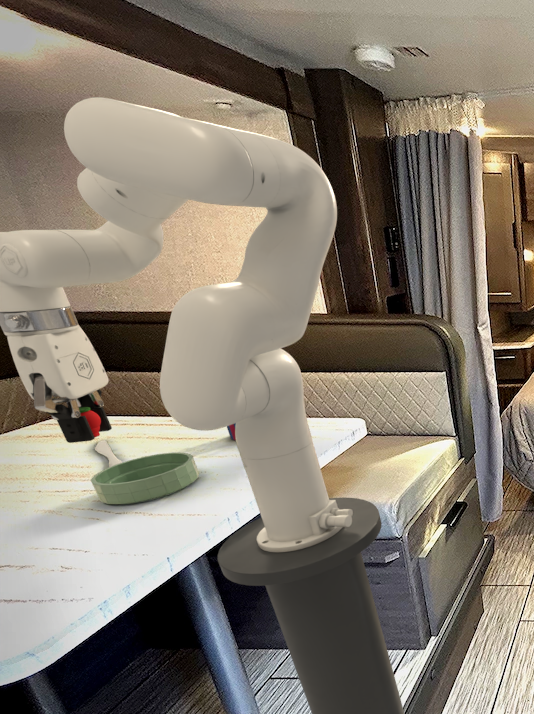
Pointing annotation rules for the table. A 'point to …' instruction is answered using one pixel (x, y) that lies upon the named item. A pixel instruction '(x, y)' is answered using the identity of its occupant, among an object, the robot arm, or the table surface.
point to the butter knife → (107, 453)
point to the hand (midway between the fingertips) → (90, 435)
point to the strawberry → (91, 419)
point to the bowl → (145, 478)
